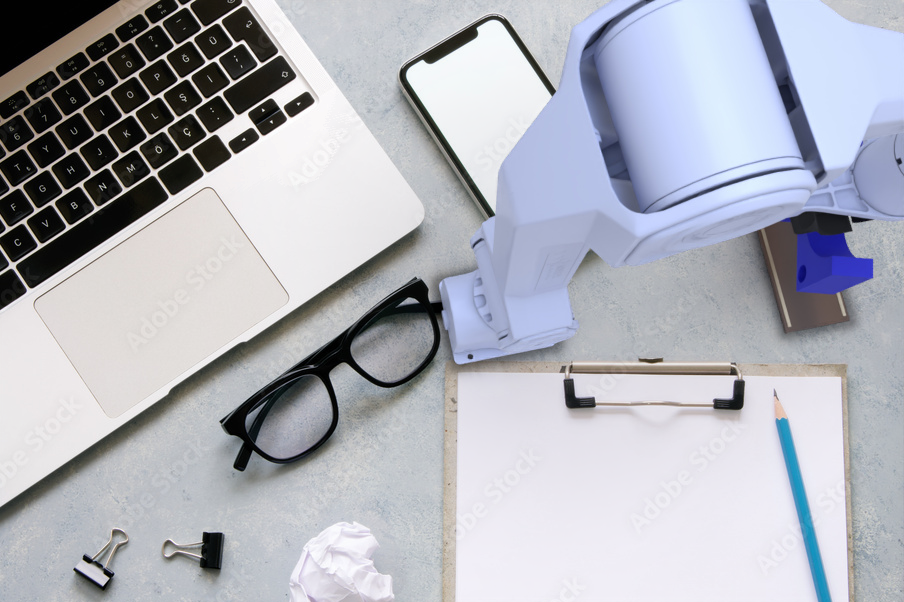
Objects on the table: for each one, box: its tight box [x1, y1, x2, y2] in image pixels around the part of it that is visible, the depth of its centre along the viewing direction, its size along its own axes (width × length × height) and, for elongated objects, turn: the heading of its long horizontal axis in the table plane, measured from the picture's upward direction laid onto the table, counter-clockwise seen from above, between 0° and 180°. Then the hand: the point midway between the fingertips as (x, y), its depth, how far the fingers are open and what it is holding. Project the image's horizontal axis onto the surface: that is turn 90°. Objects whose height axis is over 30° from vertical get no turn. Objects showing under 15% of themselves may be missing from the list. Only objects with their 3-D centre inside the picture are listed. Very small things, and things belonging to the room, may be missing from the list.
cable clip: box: [781, 141, 874, 294], centre depth 61 cm, size 12×4×6 cm, turn 174°
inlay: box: [756, 221, 851, 334], centre depth 70 cm, size 6×14×1 cm, turn 11°
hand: (824, 216), depth 62 cm, fingers closed on cable clip, 4 cm apart
